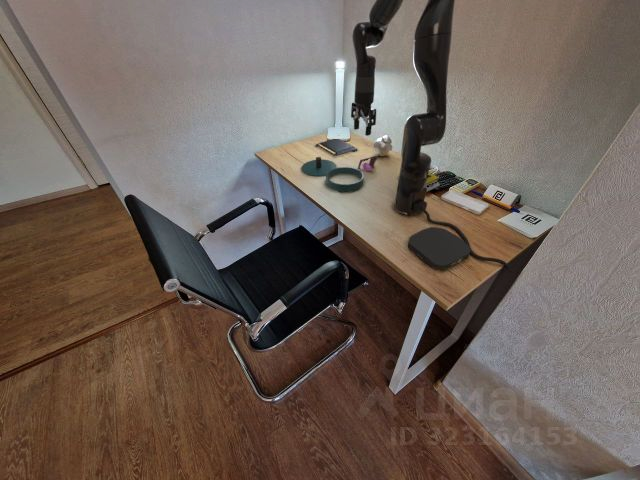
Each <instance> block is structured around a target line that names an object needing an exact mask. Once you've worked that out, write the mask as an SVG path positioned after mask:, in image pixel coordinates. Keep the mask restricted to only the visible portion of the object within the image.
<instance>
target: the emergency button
mask: <svg viewBox="0 0 640 480" xmlns="http://www.w3.org/2000/svg"><path fill="white" fill-rule="evenodd" d="M438 180H439V177H438V176H437V175H435V174H433V173H431V172H429V173H428V177H427V181H426V185H425V188H426V189H427V191H426V193H428V192H431V191H432V190H434V189H435V188H438V187H440V185H441V184H440V182H438ZM435 182H437V183H435ZM432 183H435V184H433V187H431V186H429V187H427V185H429V184H432Z"/></svg>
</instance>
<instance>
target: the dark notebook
mask: <svg viewBox="0 0 640 480" xmlns="http://www.w3.org/2000/svg"><path fill="white" fill-rule="evenodd" d="M315 146H316V147H317V148H320V149H322V150H324V151H325V152H327V153H328V154H331V155H332V156H333V157H338V156H341V155H345V154H348V153H353V152H357V151H358V148H357V147H356V146H353V145H351V144H350V143H348V142H345V141H343V140H341V139H339V138H338V139H335V138H332V139H327V140H325V141H322V142H318V143H316V144H315Z"/></svg>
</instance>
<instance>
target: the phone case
mask: <svg viewBox="0 0 640 480" xmlns="http://www.w3.org/2000/svg"><path fill="white" fill-rule="evenodd" d="M440 199H441V200H442V201H444V202H446V203H449V204H451V205H454V206H457V207H458V208H461V209H463V210H465V211H468V212H470V213H473V214H474V215H477V216H480V215H481V214H483V212H485V211H486V210H487V209H488V208H489V206H490V204H489V203H487V202H485V201H482V200H480V199H478V198H474V197H472V196H470V195H467V194H465V193H461V192H459V191H457V190H454V189H449V190H448V191H446V192H445V193H443V194H442V195H441V196H440Z"/></svg>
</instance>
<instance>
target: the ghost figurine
mask: <svg viewBox="0 0 640 480" xmlns="http://www.w3.org/2000/svg"><path fill="white" fill-rule="evenodd" d="M392 143H393V141H392V139H391V138H390V136H388V135H383V136H382V137H379V138H377V139H376V140H375V141H374V143H373V144H372V150H373V152H374V154H375V156H377V157H385V156H387V155H388V154H389V153H390V152H391V151H393V145H392Z"/></svg>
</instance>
